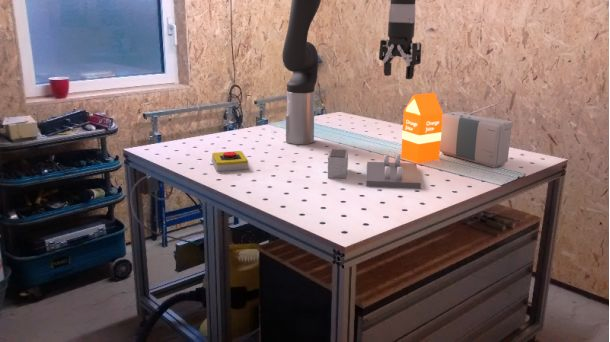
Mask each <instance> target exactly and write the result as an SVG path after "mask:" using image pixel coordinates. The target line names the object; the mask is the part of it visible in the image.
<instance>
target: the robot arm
mask: <svg viewBox="0 0 610 342" xmlns="http://www.w3.org/2000/svg"><path fill="white" fill-rule="evenodd" d="M321 1H322V0H291V3H290V11H289V18H288V19H289V20H288V26H287V31H286V35H285V39H284V44H283V49H282V54H281V55H282V56H281V57H282V63H283V65H284V67H285V68H286V69H287V70H288V71H289V72H291V73H292V76H291V77H290V79H289V81H287V84H286V114H285V143H287V144H292V145H293V144H294V145H309V144H312V143H314V142H315V87H316V84H317V81H318V70H319V69H318V67H319V55H318V51H317V48H316V46H315V45H314V44H313V43H312V42H309V41H308V36H309V30H310V27H311V25H312V22H313V20H314V18H315V16H316V14H317V12H318V10H319V8H320V6H321ZM415 25H416V0H390V4H389V11H388V26H387V37H388V38H389V39H381V40H380V42H379V43H380V44H379V53H378V60H379V61H382V62H383V75H384V76H387V77H389V76H391V75H392V61H393V59H395V58H396V57H399V58H402V60H404V61H405V64H406V68H405V69H406V70H405V79H406V80H412V79H413V78H414V74H415V66H417V65H421V63H422V42H413V38H414V36H415V27H416V26H415Z"/></svg>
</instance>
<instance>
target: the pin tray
mask: <svg viewBox="0 0 610 342" xmlns="http://www.w3.org/2000/svg"><path fill="white" fill-rule="evenodd" d="M383 155H384V156H383V161H367V162H366V178H365V179H366V181H365V182H366V183H365V184H366V185H365V187H372V188H373V187H378V188H399V189H421V188H422V181H421V177H420V173H419V170H418V169H419V168H418V167H417V166H418V165H417V163H415V162H401V159H402V158H401V154H395V159H394V162H391V161H390V155H389V154H383Z"/></svg>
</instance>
